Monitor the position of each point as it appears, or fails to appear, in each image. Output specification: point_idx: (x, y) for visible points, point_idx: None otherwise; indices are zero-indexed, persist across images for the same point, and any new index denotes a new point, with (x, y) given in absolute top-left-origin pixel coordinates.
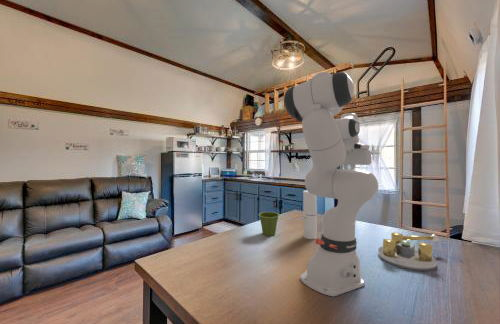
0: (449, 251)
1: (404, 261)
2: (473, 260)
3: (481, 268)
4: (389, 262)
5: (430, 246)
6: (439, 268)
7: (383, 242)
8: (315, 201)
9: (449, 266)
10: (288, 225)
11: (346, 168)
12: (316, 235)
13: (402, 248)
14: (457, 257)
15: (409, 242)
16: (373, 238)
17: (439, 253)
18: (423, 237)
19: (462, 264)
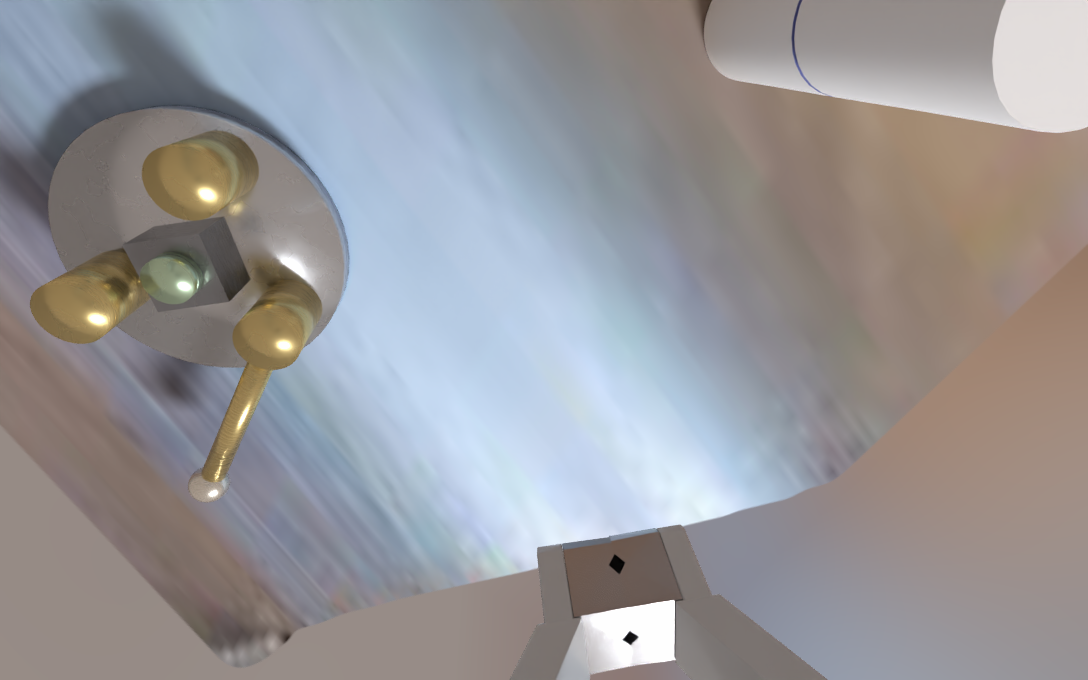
0: (228, 492)
1: (120, 150)
2: (124, 477)
3: (48, 426)
4: (188, 107)
5: (30, 306)
6: None
7: (203, 150)
8: (887, 30)
9: None
10: None
11: (720, 666)
12: (712, 50)
13: (171, 233)
14: (166, 458)
15: (149, 289)
16: (497, 364)
17: None
18: (216, 440)
19: (98, 405)
